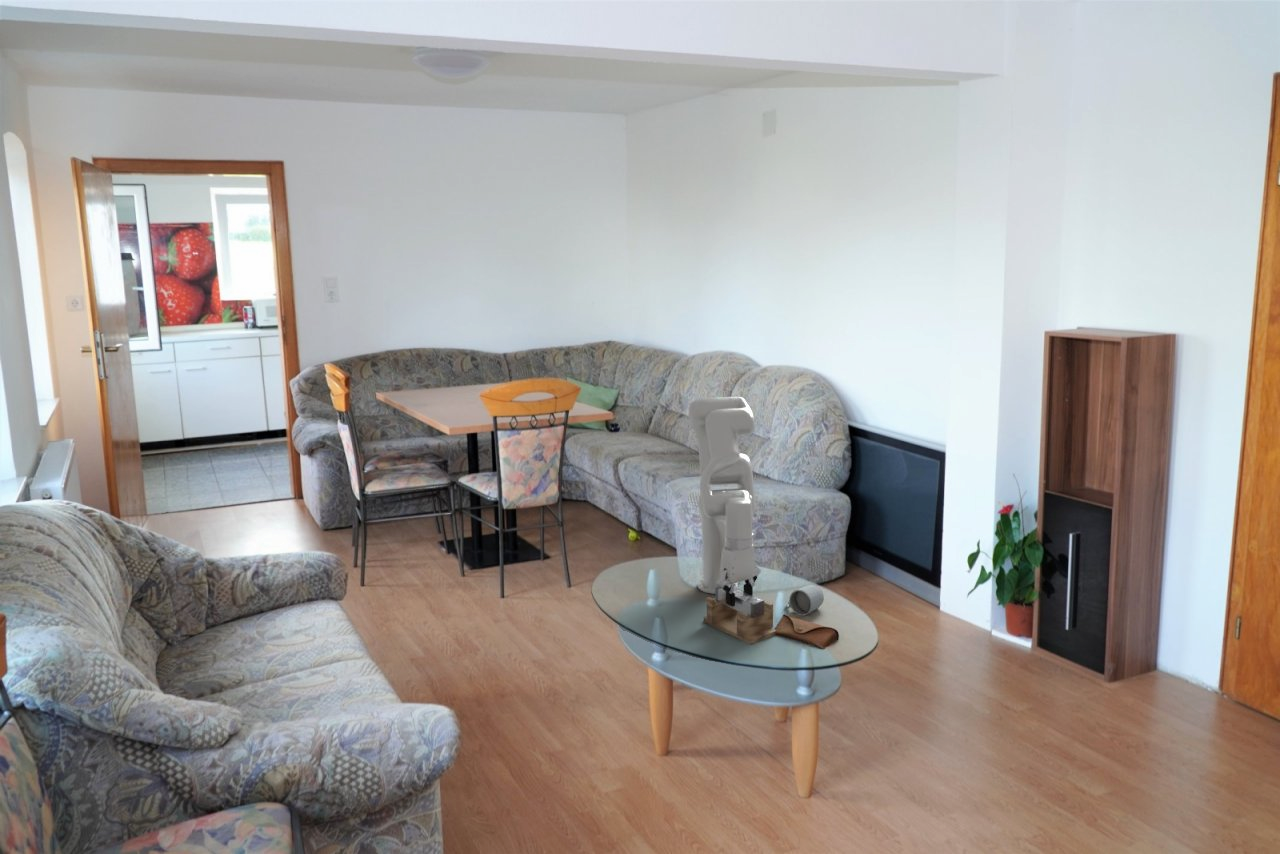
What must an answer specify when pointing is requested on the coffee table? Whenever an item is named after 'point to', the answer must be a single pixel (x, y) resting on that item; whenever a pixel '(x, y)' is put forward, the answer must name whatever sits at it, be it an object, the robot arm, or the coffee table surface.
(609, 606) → the coffee table surface
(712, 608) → the rack
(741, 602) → the rail
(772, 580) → the coffee table surface
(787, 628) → the sunglasses case
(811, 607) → the ceramic mug
